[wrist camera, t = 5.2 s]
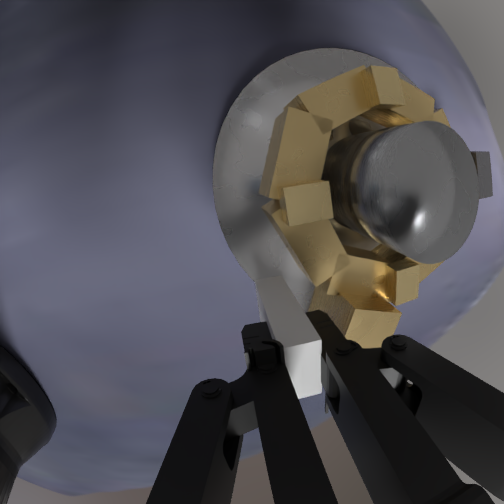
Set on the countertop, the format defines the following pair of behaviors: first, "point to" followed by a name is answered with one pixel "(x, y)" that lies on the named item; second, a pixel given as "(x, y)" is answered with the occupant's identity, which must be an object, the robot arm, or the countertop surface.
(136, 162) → the countertop surface
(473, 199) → the flange
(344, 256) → the gold crown ring
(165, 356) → the countertop surface
